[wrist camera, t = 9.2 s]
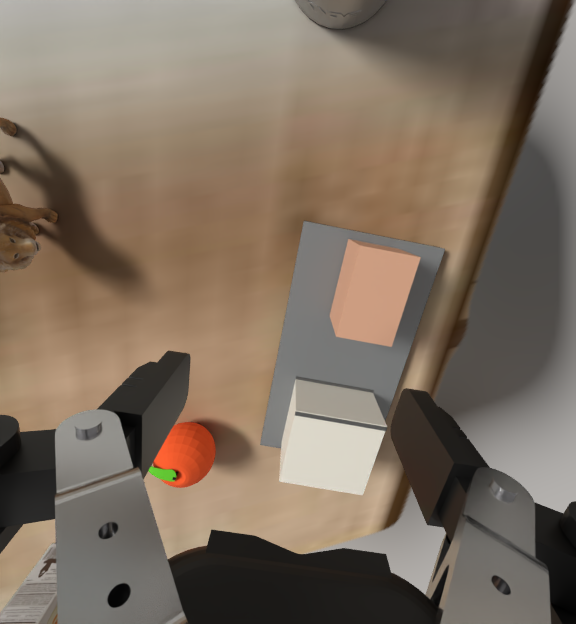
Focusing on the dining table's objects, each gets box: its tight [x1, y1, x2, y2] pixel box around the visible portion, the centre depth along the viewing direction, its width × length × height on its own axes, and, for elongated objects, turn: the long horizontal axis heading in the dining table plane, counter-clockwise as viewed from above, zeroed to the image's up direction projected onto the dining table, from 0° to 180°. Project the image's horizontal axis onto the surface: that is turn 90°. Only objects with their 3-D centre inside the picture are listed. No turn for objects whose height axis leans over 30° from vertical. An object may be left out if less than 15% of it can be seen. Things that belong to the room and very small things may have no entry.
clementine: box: [148, 422, 216, 488], centre depth 36 cm, size 8×7×7 cm
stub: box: [330, 239, 421, 347], centre depth 28 cm, size 8×5×6 cm, turn 169°
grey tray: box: [260, 221, 445, 495], centre depth 32 cm, size 27×14×7 cm, turn 169°
